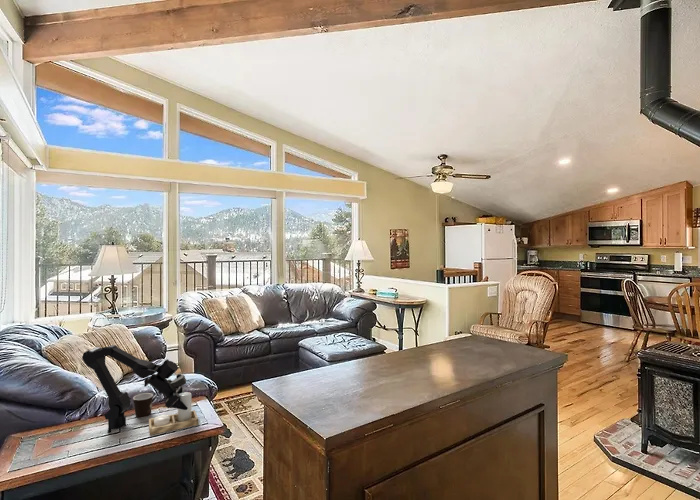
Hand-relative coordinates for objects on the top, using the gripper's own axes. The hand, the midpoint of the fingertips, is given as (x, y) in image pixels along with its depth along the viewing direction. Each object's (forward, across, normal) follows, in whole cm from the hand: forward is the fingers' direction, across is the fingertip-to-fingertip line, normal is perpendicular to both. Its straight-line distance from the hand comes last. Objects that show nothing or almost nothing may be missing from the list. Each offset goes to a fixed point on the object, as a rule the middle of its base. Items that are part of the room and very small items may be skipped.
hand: (187, 405), depth 182 cm
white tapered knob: (+4, 0, +7) cm, 8 cm away
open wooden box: (+2, -1, +11) cm, 11 cm away
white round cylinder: (-2, -2, +13) cm, 13 cm away
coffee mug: (-8, +17, +21) cm, 28 cm away
